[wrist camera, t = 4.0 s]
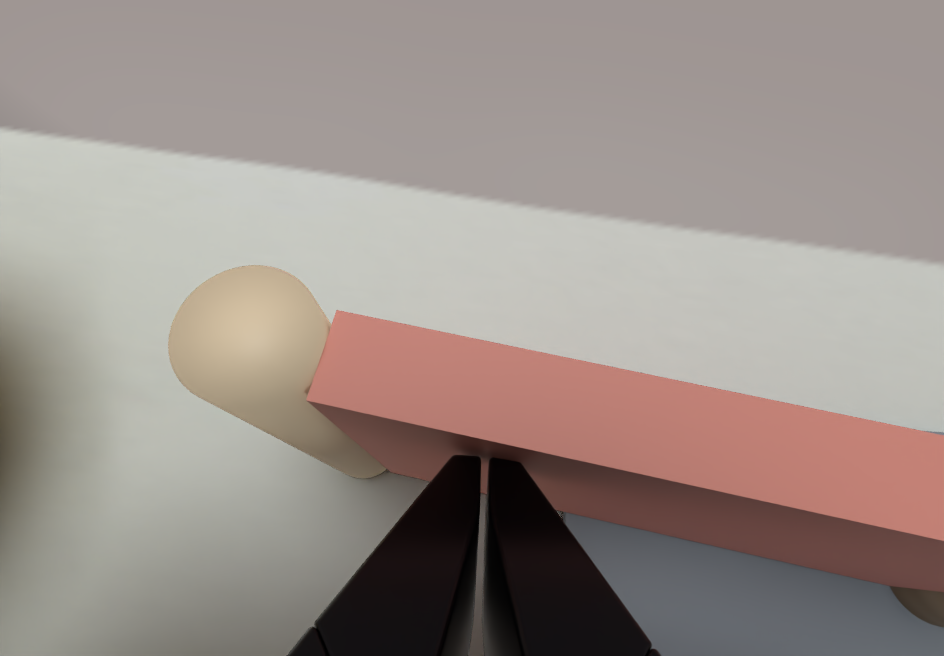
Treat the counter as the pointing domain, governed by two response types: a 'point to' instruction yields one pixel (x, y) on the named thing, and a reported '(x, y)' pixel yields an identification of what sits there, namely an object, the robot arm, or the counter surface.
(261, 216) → the counter surface
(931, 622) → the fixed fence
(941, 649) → the board
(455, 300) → the counter surface
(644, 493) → the fence gate
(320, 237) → the counter surface
